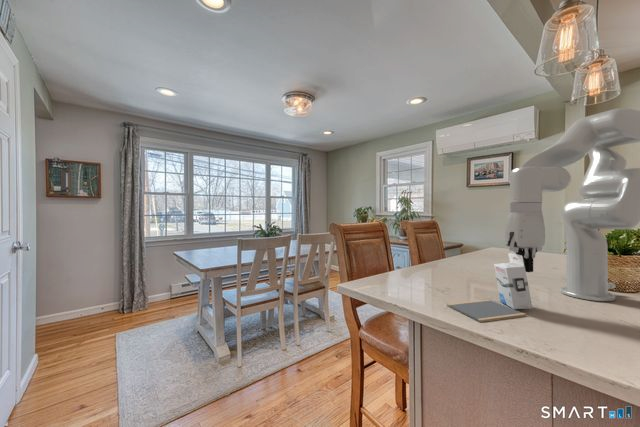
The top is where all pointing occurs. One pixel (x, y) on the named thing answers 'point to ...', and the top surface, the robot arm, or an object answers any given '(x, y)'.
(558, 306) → the top surface
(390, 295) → the top surface
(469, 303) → the mat
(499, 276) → the ink box
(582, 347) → the top surface
